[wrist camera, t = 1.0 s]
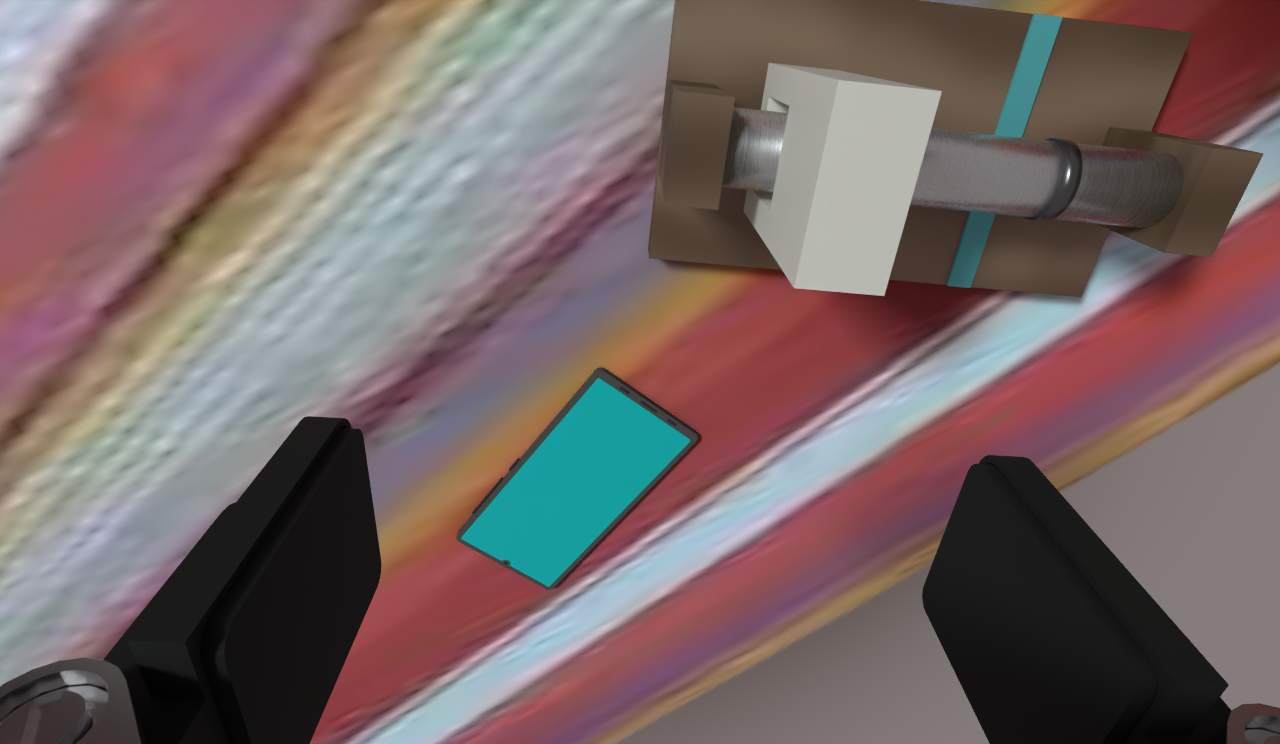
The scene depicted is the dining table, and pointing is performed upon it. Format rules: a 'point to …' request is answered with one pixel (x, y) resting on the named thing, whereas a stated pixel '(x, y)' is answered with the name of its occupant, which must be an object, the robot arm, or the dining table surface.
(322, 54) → the dining table surface
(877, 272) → the collar
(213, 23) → the dining table surface
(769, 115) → the pipe rig
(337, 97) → the dining table surface
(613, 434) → the smartphone
